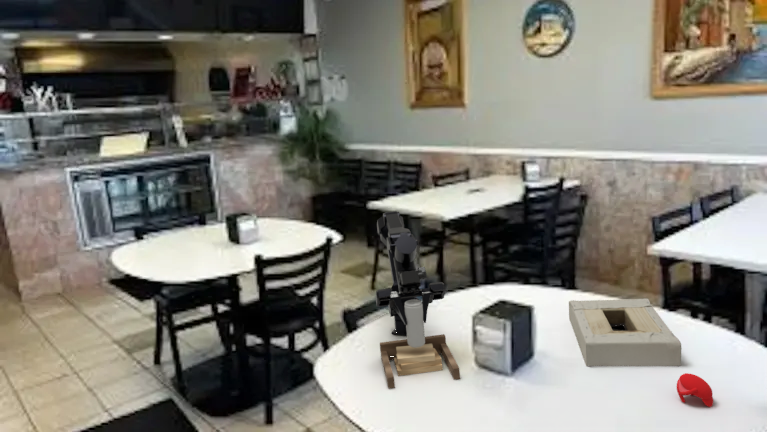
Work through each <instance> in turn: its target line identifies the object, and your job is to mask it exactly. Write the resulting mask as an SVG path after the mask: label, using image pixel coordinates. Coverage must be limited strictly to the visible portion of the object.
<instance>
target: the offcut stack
mask: <svg viewBox="0 0 767 432" xmlns="http://www.w3.org/2000/svg"><path fill="white" fill-rule="evenodd" d="M396 351H397V354H396V358H394V360H393V363H394V366H395V370H396V374H397V376H398V377H403V376H408V375H417V374H424V373H431V372H438V371H443V361H442V359H443V358H442V357H441V355H440V354H438V353H437V351H436V350H435V348H433V345H432V344H424V345H423V346H421V347H417V348H414V347H411V346H400V347H396Z"/></svg>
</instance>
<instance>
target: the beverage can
mask: <svg viewBox="0 0 767 432" xmlns="http://www.w3.org/2000/svg"><path fill="white" fill-rule="evenodd" d="M404 307H405V316H406V321H407V325H406V330H407V335H406V339H407V342H408V345H409V346H411V347H414V348H417V347H421V346H423V345H424V344H425V337H426V335H425V326H424V325H425V323H424V320H423V305H422V300H420V299H418V300H417V299H413V300H408V301H406V302H405V306H404Z"/></svg>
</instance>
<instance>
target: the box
mask: <svg viewBox="0 0 767 432" xmlns="http://www.w3.org/2000/svg"><path fill="white" fill-rule="evenodd" d="M568 315H569V322H570V324H571V328H572V329H573V333H574V336H575V338H576V341H577V345H578V348H579V350H580V353H581V356H582V359H583V361H584V364H585V367H681V362H682V343H681V341H680V340H679V338H678V337H677V336H676V335H674V333H673V331H672V330H671V329H670V328H669V327H668V325H667V324H666V323H665V321H664V320H663V318H661V316H660V315H659V313H658V312H657V311H656V310H655V308H654V306H653V305H652V304H651V302H650V300H649V298H636V299H635V298H634V299H633V298H629V299H605V300H604V299H599V300H595V299H594V300H569V301H568ZM620 326H622V327H623V328H624V330H622V329H613V328H612V327H620Z"/></svg>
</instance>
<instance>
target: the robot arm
mask: <svg viewBox="0 0 767 432" xmlns="http://www.w3.org/2000/svg"><path fill="white" fill-rule="evenodd" d="M376 221H377V222H376V229H377V230H376V231H377V235H378V236H379V237H380V241H381V243H382V244H383V245H384V246H385V247H386V251H387V255H388V261H389V263H388V264H389V268H390V273H391V279H392V286H391V288H390V287H389V288H380V289H377V290H376V291H375V302H376V307H378V308H381V307H388V313H389V315H390V317H394V329H393V330H392V332H391V335H395V336H396V335H398V336H407V330H406V325H407V321H406V316H405V307H404V306H405V302H406V301H408V300H413V299H417V300H419V298H418V297H421V298H422V300H421V301H422V305H423V320H424V324H426V323H427V317H428V309H429V308H428V307H429V304H433V302H434V301H436V300H437V301H438V300H443V299H444V298H445V295H446V290H447V289H446V286H445V283H443V282H442V281H436V282H431V283H429V284H428V288H421V287H422V286H421V285H422V282H421V281H422V280H426V279H427V278H428V277H427V276H428V275H427V271H426V266H421V267H418V268H417V269H416V263H415V259H416V254H417V247H418V245H419V241H418V239H417V238H416V237H415V236H414V234H412V232H411V231H410V229H409V228H405V224H404V218H403V216H402V215H400V212H399V211H397V210H395V211H394V210H393V211H386V212H383V213H382V216H381V217H380V218H378V219H377V220H376ZM395 329H396V330H395ZM396 332H397V333H396Z"/></svg>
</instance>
